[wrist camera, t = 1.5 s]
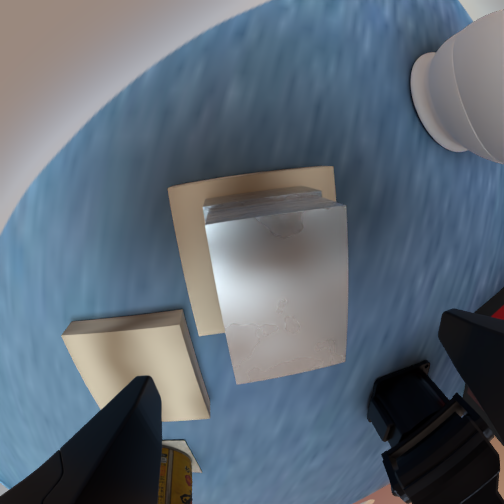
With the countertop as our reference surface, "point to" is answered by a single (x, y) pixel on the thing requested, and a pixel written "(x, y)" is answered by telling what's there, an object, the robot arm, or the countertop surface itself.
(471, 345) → the robot arm
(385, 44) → the countertop surface
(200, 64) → the countertop surface
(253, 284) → the block
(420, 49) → the countertop surface
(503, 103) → the jar
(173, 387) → the stand
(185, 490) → the condiment
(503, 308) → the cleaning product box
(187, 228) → the stand
